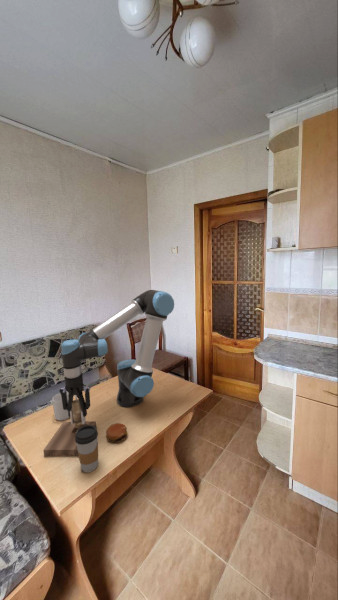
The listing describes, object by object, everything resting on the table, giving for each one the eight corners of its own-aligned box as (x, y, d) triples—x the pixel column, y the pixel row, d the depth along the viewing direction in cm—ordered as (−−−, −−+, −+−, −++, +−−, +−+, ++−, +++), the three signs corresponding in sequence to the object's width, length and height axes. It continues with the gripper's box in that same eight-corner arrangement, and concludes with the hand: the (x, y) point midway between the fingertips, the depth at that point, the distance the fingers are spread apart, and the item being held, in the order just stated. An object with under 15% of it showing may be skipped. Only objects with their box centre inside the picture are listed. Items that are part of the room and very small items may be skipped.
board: (96, 426, 119) (96, 421, 119) (82, 456, 101) (81, 449, 101) (64, 427, 120) (63, 421, 119) (44, 456, 102) (43, 450, 102)
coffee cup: (81, 458, 100) (77, 425, 98) (102, 456, 101) (99, 423, 98) (75, 476, 92) (71, 440, 89) (98, 473, 92) (94, 437, 90)
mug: (58, 424, 123) (55, 403, 121) (52, 416, 129) (49, 396, 127) (81, 413, 131) (79, 393, 129) (75, 406, 137) (72, 388, 135)
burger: (104, 434, 114) (103, 425, 113) (123, 427, 118) (122, 418, 117) (109, 448, 105) (108, 438, 105) (130, 439, 110) (129, 430, 109)
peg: (85, 422, 116) (82, 399, 114) (81, 428, 111) (79, 404, 110) (76, 422, 116) (73, 399, 114) (72, 429, 112) (69, 404, 110)
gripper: (95, 370, 113) (99, 417, 117) (58, 371, 114) (63, 417, 117) (89, 378, 106) (94, 427, 109) (50, 379, 106) (56, 428, 110)
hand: (78, 422), depth 113 cm, fingers closed on peg, 4 cm apart
